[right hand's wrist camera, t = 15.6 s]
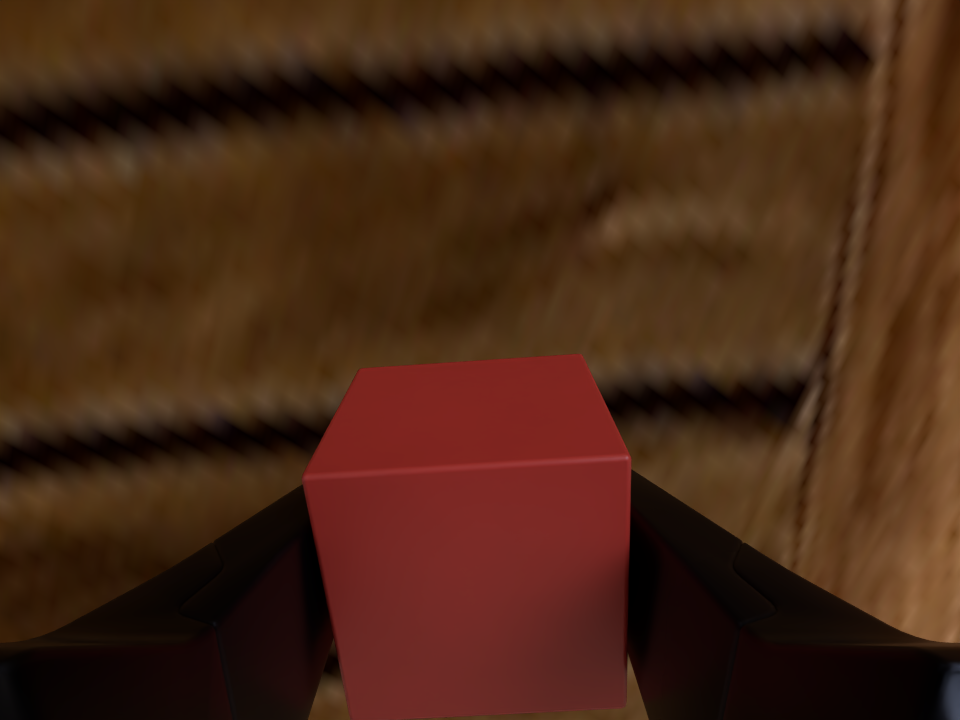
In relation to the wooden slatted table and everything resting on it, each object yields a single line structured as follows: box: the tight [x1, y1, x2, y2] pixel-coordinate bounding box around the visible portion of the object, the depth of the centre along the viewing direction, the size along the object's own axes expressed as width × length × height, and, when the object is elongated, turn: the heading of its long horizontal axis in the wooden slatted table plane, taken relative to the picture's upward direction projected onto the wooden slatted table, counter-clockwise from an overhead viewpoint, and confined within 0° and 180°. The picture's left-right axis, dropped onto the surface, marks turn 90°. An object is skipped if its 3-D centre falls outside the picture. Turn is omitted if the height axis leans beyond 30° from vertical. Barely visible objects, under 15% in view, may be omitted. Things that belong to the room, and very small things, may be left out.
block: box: [302, 354, 631, 720], centre depth 10 cm, size 4×4×4 cm
